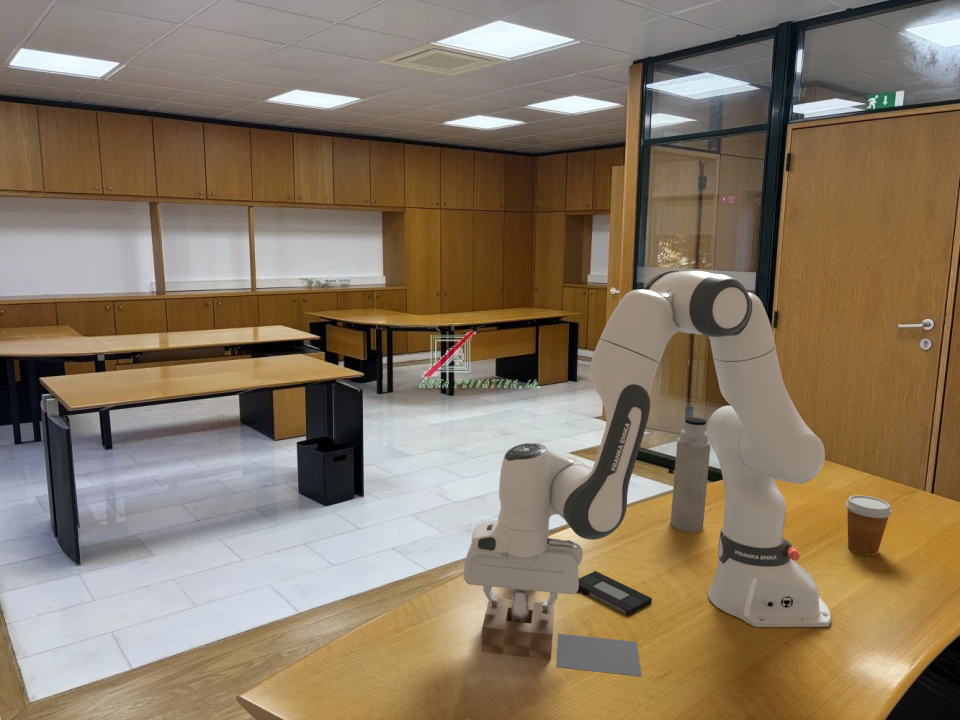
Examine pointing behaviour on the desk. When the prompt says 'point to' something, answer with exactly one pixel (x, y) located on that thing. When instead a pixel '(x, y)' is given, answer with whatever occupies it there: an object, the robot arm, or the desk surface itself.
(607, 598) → the vhs tape
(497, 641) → the hole block
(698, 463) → the thermos bottle
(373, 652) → the desk surface
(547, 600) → the robot arm
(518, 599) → the peg
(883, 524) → the disposable coffee cup
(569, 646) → the mat
